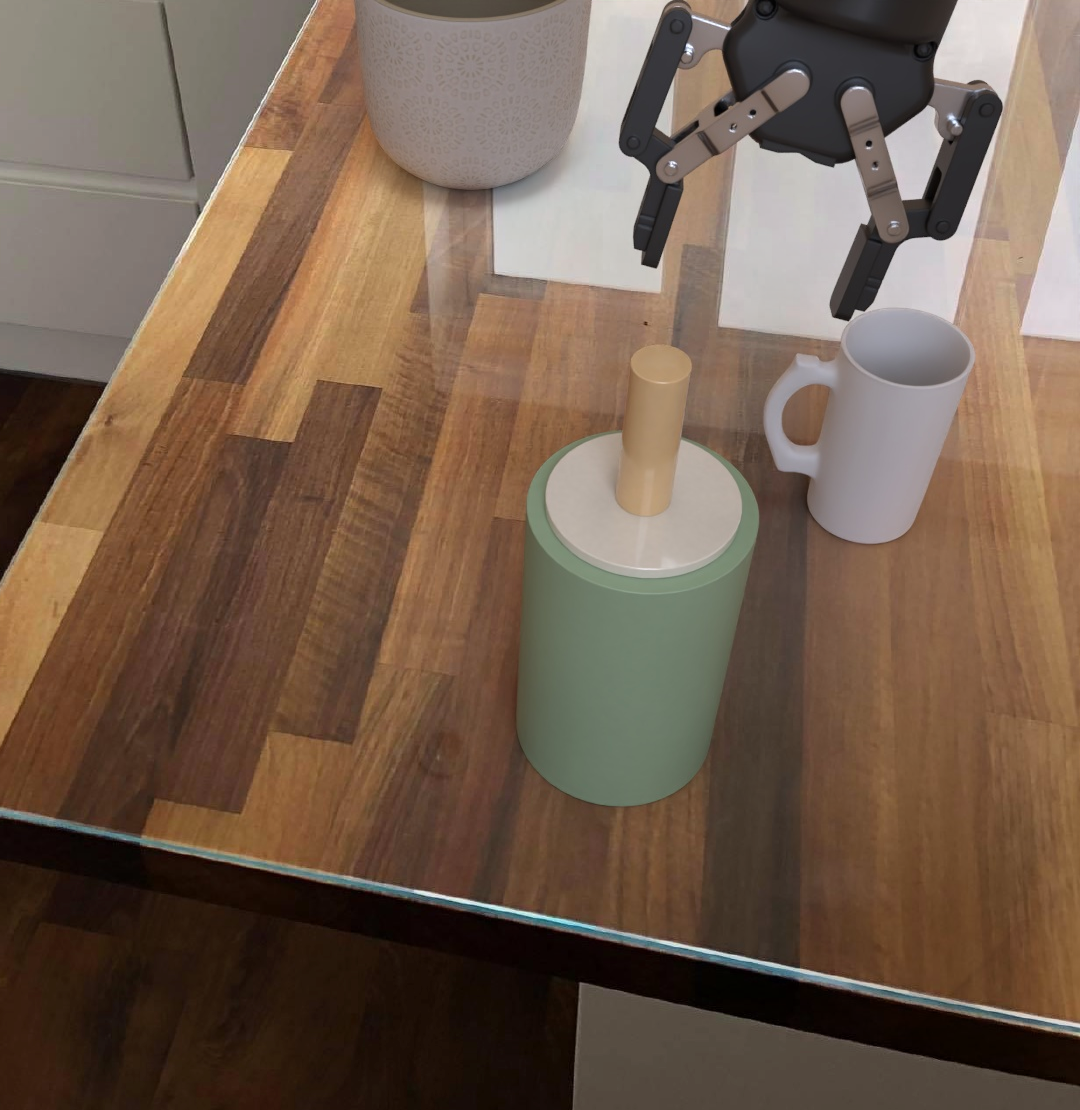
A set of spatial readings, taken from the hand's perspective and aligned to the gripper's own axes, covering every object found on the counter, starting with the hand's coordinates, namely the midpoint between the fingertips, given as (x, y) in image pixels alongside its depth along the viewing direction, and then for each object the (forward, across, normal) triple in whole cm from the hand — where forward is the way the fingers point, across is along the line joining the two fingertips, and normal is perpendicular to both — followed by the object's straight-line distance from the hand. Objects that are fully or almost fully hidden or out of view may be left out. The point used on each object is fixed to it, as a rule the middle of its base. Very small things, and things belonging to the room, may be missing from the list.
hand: (743, 287), depth 61 cm
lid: (+9, -2, -6) cm, 11 cm away
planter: (+12, -16, +50) cm, 53 cm away
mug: (+17, +12, +16) cm, 26 cm away
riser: (+24, +1, -2) cm, 24 cm away
